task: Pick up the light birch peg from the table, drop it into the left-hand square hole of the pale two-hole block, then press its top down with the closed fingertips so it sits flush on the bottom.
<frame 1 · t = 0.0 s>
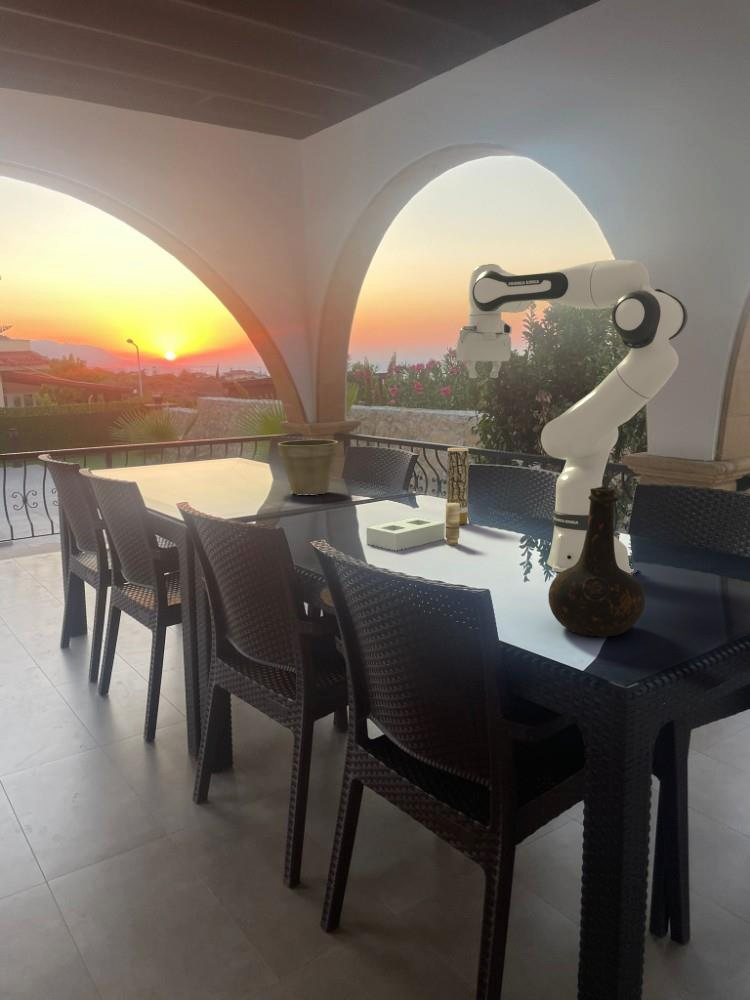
hand: (483, 377, 203), 48 cm above the table, tool pointing down, fingers open, 8 cm apart
board: (406, 541, 217), on the table
plant pot: (309, 493, 305), on the table
peg: (452, 544, 213), on the table
bark-textured cylinder: (457, 524, 243), on the table
glass bottle: (594, 630, 142), on the table
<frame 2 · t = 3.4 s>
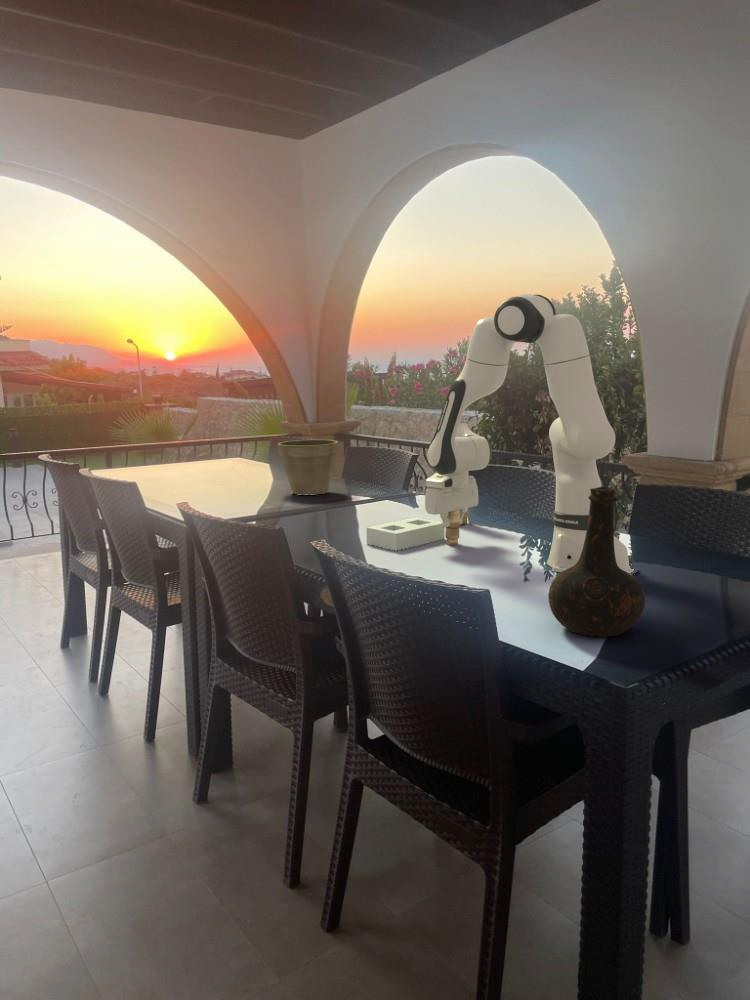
hand: (452, 525, 212), 6 cm above the table, tool pointing down, fingers closed on peg, 4 cm apart
peg: (452, 544, 213), on the table, touching gripper
everything else where it was.
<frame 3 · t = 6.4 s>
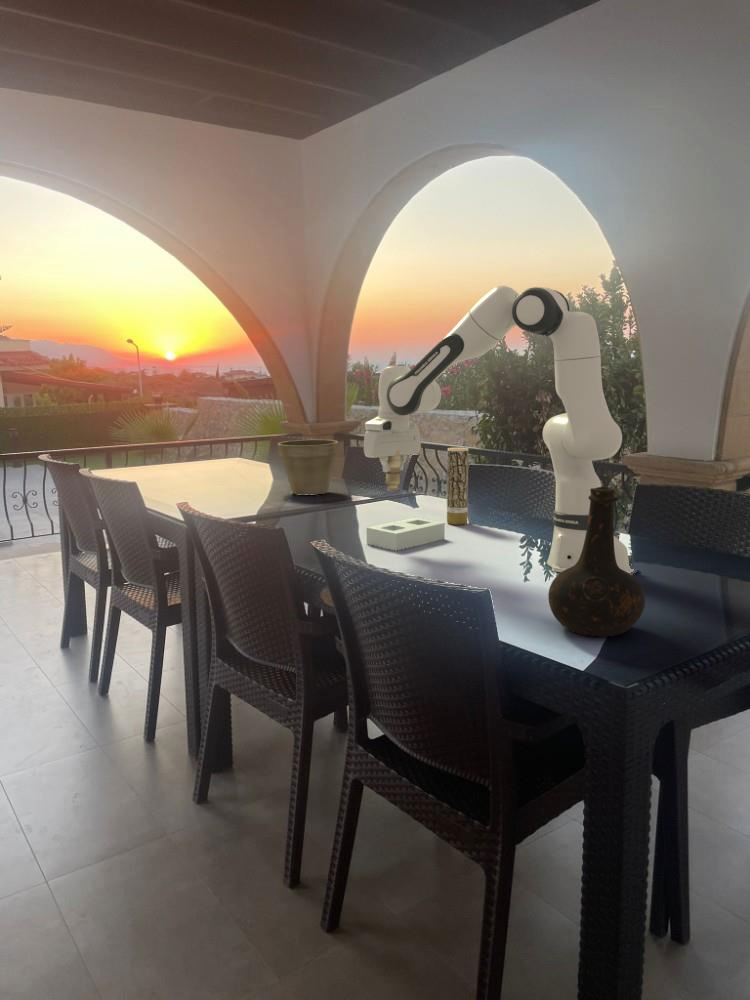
hand: (393, 471, 209), 22 cm above the table, tool pointing down, fingers closed on peg, 4 cm apart
peg: (392, 490, 210), point 16 cm above the table, touching gripper
everything else where it was.
when the fingers open (7 cm above the table, at t = 9.5 s): peg drops 1 cm, resting in board.
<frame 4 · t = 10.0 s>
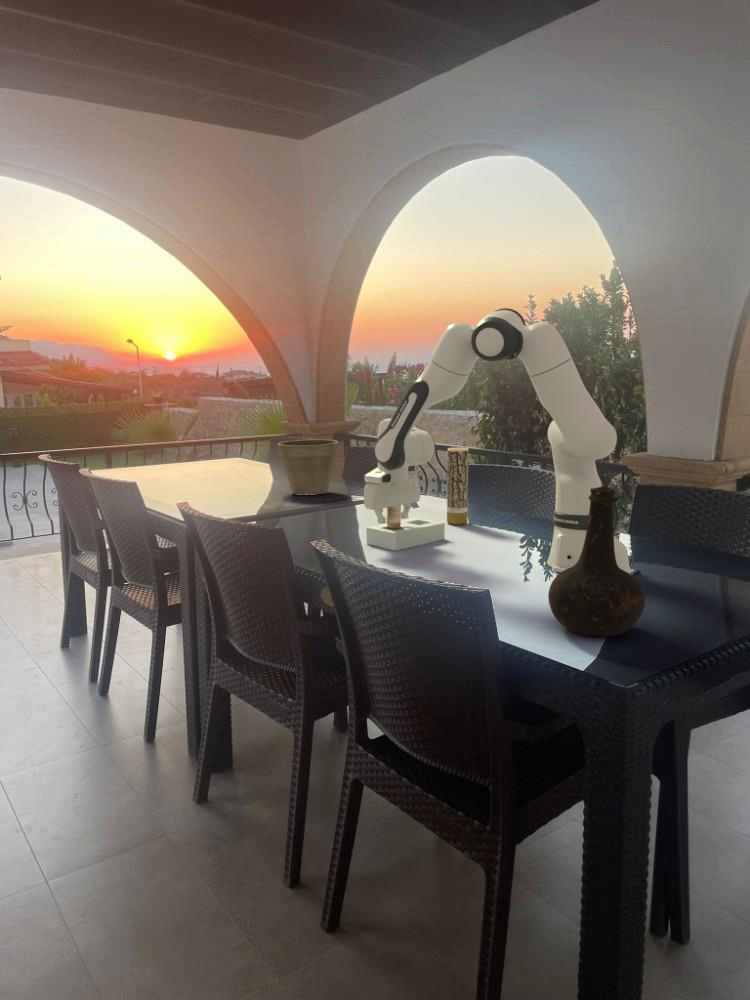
hand: (393, 520, 212), 7 cm above the table, tool pointing down, fingers open, 8 cm apart
peg: (393, 544, 213), resting in board
everything else where it was.
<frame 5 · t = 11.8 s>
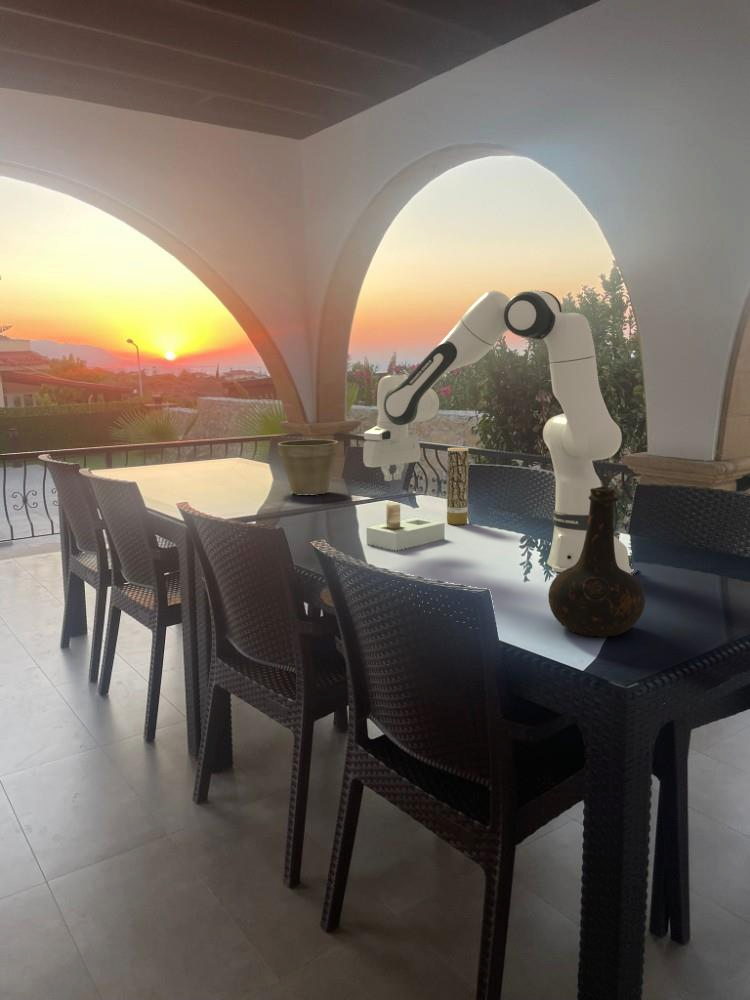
hand: (392, 480, 210), 19 cm above the table, tool pointing down, fingers closed
nothing on the table moved.
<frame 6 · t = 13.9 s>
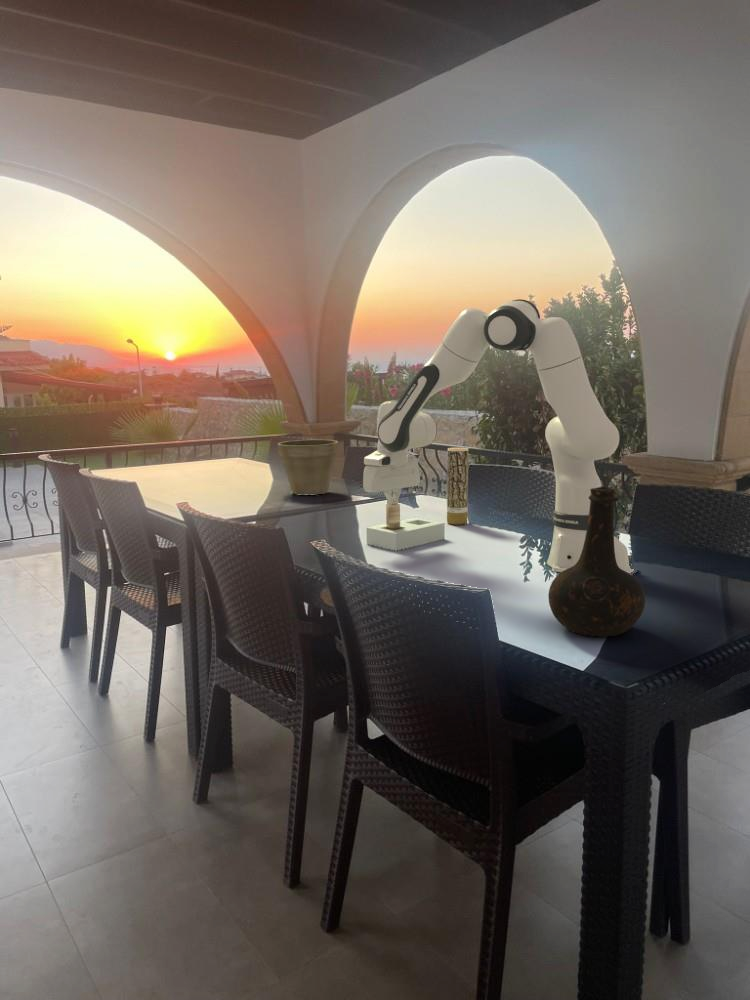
hand: (392, 504, 211), 12 cm above the table, tool pointing down, fingers closed, pressing on peg
peg: (393, 544, 213), resting in board, touching gripper
everything else where it was.
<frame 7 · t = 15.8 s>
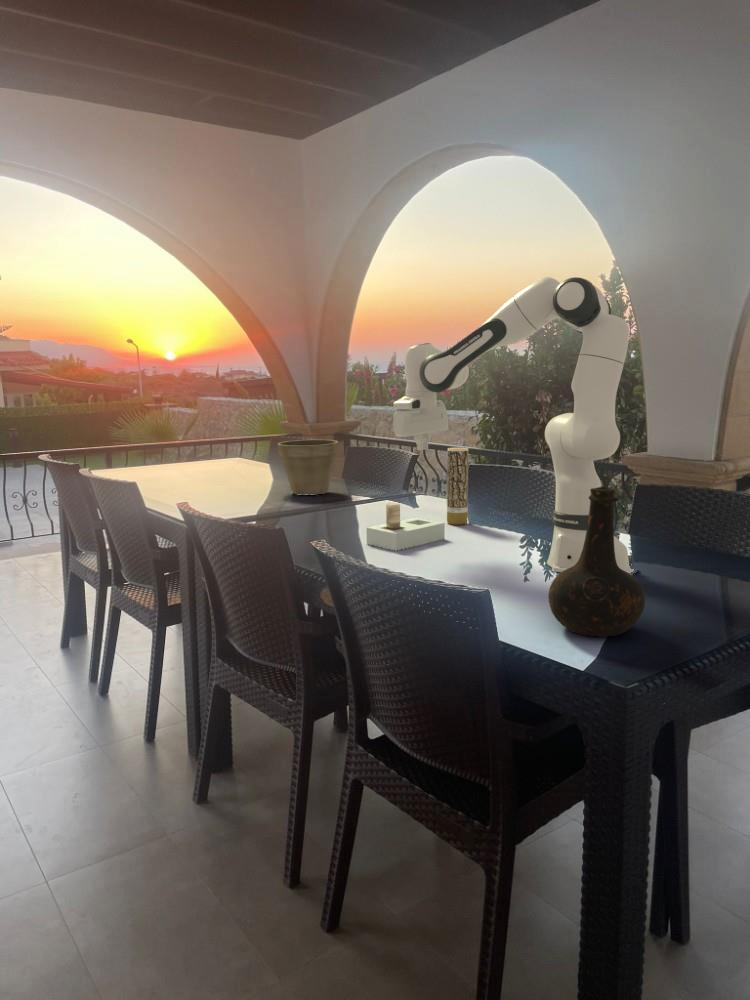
hand: (422, 449, 211), 28 cm above the table, tool pointing down, fingers closed
peg: (393, 544, 213), resting in board
everything else where it was.
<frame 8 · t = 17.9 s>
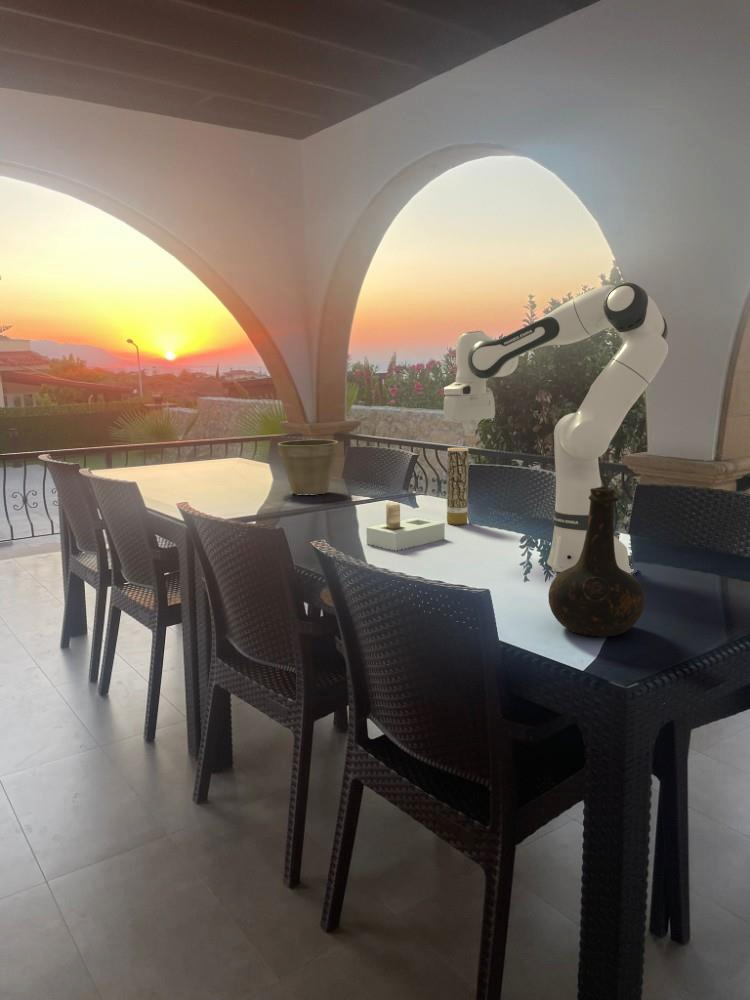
hand: (469, 435, 216), 31 cm above the table, tool pointing down, fingers closed
nothing on the table moved.
at the end: peg 0.1 cm from the target spot on the board, point 0.0 cm above the board's base; peg tilted 0°; the gripper is holding nothing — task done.
